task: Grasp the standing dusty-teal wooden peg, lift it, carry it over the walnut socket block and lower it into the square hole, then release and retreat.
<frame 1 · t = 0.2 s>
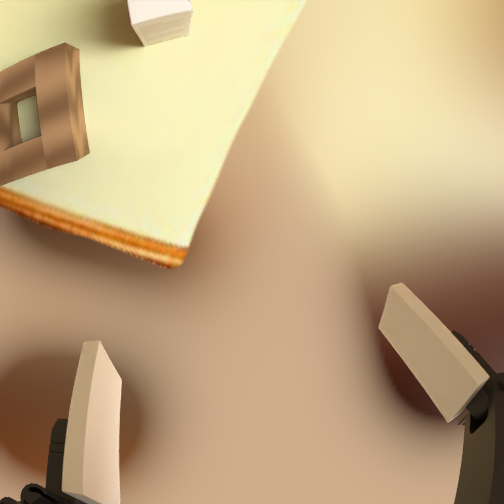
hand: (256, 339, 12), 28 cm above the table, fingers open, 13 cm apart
small box: (161, 15, 24), on the table
socket: (36, 115, 26), on the table
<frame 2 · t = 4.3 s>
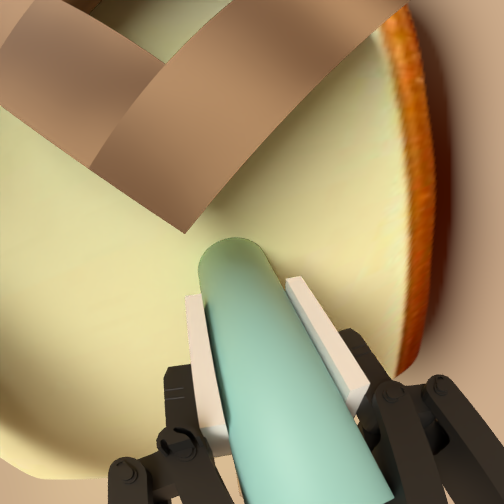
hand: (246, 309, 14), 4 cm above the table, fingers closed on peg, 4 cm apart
peg: (232, 269, 17), on the table, touching gripper
socket: (168, 2, 9), on the table
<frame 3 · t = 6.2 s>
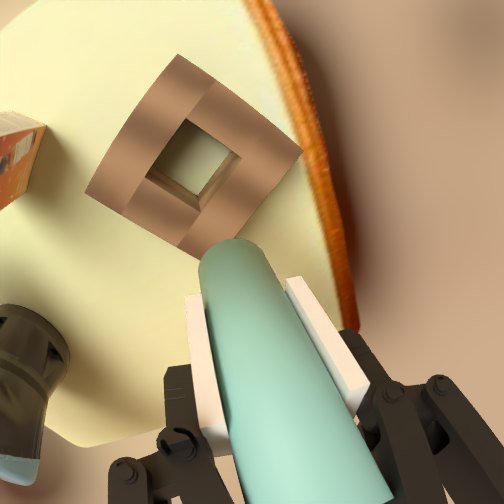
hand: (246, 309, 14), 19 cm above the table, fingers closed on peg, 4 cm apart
small box: (18, 150, 22), on the table
peg: (232, 269, 17), point 15 cm above the table, touching gripper
socket: (190, 157, 28), on the table
when the fingers open (7 cm above the table, at t = 8.4 s): peg drops 2 cm, resting in socket.
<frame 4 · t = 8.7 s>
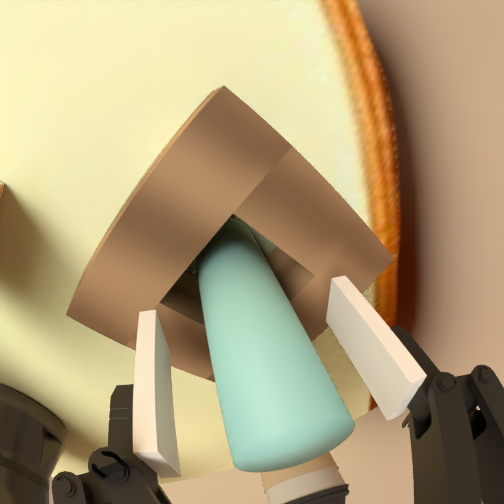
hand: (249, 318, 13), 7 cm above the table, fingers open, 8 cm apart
coffee cup: (277, 414, 33), on the table
peg: (224, 245, 19), resting in socket
socket: (224, 245, 19), on the table
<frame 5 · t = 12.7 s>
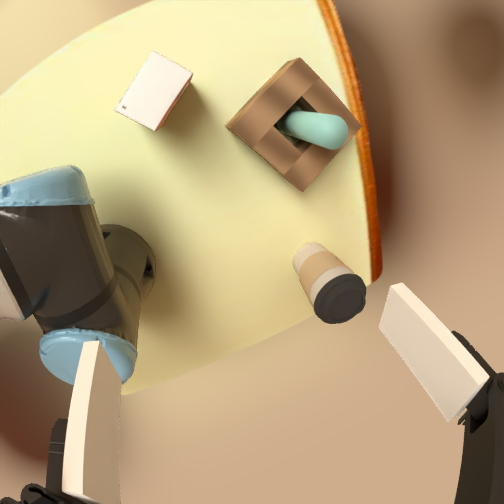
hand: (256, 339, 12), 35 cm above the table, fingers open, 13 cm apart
coffee cup: (309, 258, 54), on the table
small box: (159, 95, 35), on the table
peg: (289, 122, 41), resting in socket
socket: (289, 122, 41), on the table
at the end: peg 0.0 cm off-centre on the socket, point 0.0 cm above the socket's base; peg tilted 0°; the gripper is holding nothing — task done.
